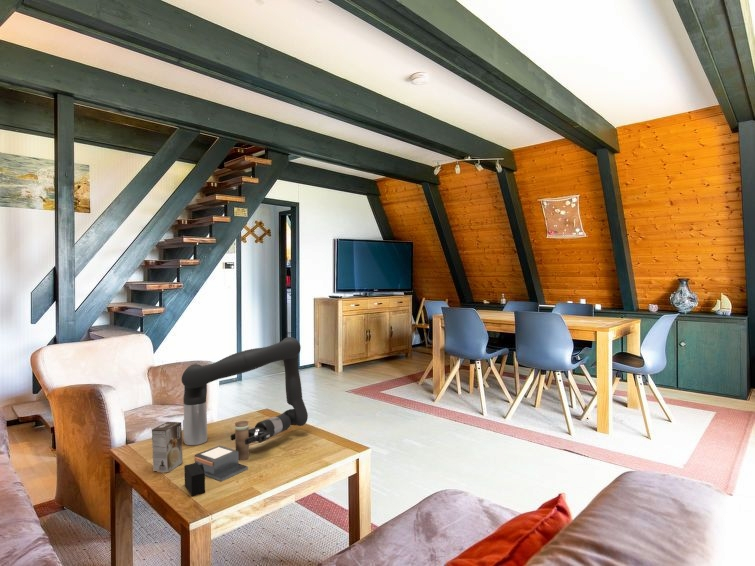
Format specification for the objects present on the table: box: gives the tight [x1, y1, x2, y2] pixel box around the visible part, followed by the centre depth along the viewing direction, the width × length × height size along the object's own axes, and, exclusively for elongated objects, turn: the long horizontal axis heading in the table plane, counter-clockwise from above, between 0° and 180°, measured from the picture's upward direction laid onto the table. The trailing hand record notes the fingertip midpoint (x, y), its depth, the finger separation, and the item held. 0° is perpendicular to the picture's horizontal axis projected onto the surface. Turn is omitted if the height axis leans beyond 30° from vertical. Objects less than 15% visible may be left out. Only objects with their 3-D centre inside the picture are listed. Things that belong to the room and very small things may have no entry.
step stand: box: [193, 444, 249, 482], centre depth 175 cm, size 20×12×6 cm, turn 57°
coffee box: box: [151, 421, 184, 473], centre depth 176 cm, size 9×6×16 cm
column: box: [234, 420, 250, 461], centre depth 185 cm, size 5×5×14 cm
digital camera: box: [183, 462, 206, 497], centre depth 159 cm, size 10×5×7 cm, turn 35°
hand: (238, 440), depth 183 cm, fingers open, 8 cm apart
